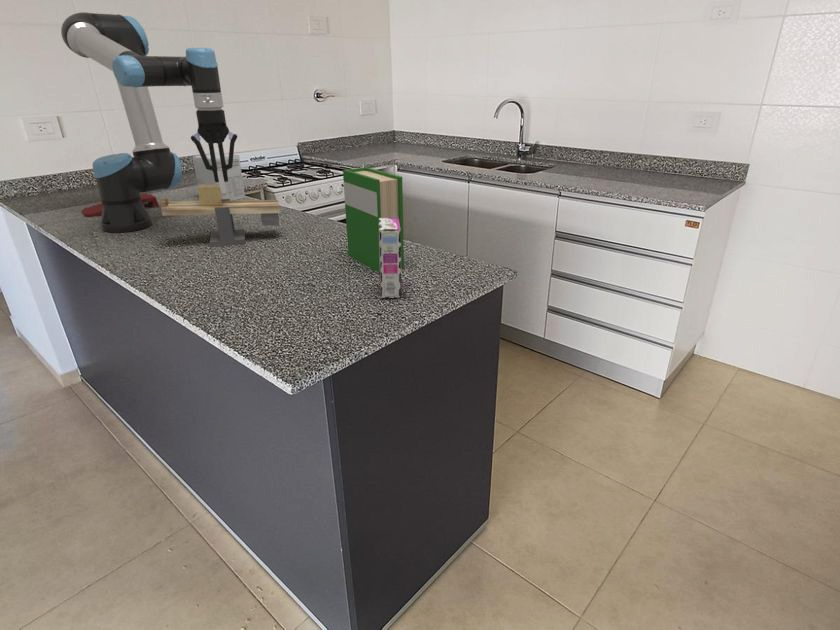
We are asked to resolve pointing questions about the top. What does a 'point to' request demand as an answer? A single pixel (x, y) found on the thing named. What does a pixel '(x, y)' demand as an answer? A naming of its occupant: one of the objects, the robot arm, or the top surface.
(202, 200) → the rider
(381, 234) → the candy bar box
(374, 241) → the hardback book
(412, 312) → the top surface
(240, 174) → the supplement box
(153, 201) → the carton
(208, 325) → the top surface
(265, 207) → the beam
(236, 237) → the pivot stand
